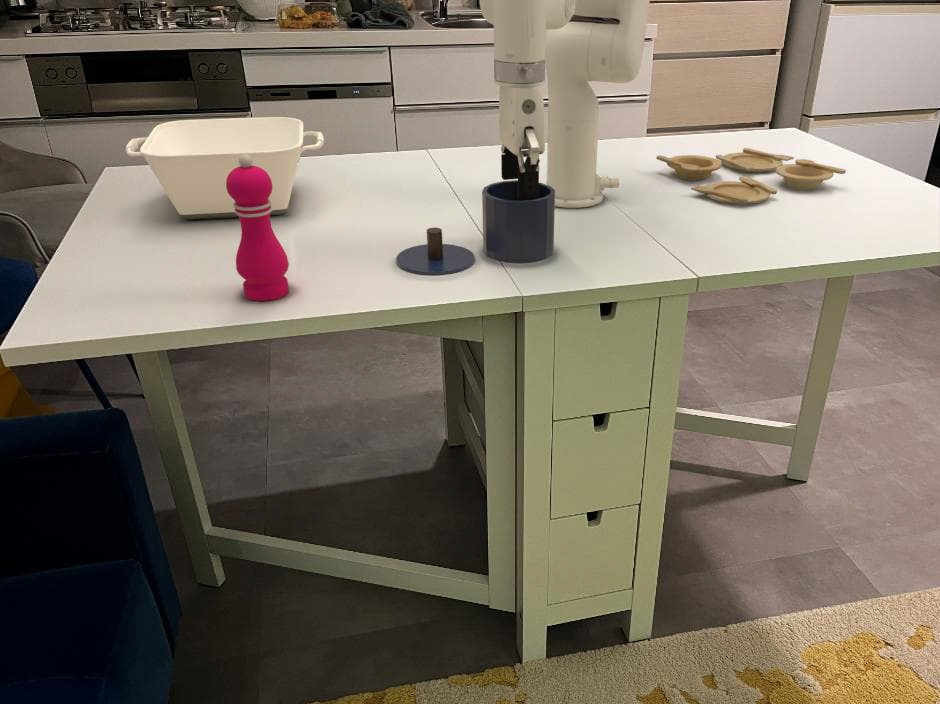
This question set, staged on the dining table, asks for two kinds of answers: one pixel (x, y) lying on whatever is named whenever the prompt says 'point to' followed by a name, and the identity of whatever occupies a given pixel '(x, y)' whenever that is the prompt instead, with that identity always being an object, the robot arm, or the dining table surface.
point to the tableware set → (749, 189)
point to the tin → (517, 223)
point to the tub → (222, 160)
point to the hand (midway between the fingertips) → (519, 187)
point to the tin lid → (435, 256)
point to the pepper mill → (257, 234)
